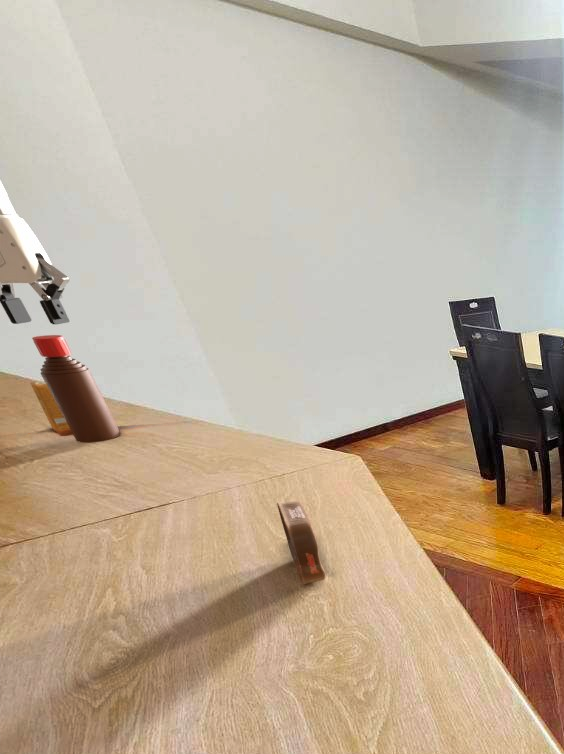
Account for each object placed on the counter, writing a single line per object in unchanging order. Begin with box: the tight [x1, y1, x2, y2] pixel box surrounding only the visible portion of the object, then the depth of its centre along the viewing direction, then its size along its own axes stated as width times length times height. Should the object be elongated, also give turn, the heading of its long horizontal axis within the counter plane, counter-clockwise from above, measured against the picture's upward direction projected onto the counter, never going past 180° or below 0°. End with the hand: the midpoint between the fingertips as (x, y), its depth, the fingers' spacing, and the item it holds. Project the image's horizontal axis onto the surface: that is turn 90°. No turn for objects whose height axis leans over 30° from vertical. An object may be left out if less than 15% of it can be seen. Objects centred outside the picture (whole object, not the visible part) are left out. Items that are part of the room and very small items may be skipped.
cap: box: [31, 334, 72, 358], centre depth 109 cm, size 4×4×3 cm
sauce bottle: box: [40, 355, 122, 443], centre depth 113 cm, size 6×6×19 cm
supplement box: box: [30, 380, 73, 437], centre depth 116 cm, size 3×3×10 cm
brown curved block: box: [276, 500, 327, 586], centre depth 77 cm, size 15×3×8 cm, turn 40°
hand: (41, 321), depth 107 cm, fingers open, 5 cm apart
